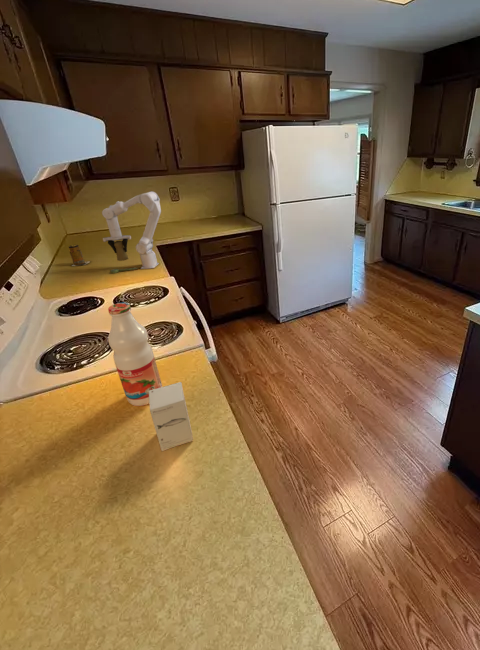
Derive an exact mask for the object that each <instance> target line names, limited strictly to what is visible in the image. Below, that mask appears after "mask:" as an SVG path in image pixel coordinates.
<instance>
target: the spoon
mask: <svg viewBox="0 0 480 650" xmlns="http://www.w3.org/2000/svg"><path fill="white" fill-rule="evenodd" d="M138 269H139V268H138V267H128V268H121V269H120V268H113V269H111V270H109V272H110V274H117V273H121V272H129V271H136V270H138Z"/></svg>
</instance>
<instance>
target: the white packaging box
mask: <svg viewBox="0 0 480 650" xmlns="http://www.w3.org/2000/svg"><path fill="white" fill-rule="evenodd" d="M148 405H149V412H150V416H151V419H152V424H153V426H154V430H155V433H156V437H157V441H158V443H159V447H160V451H161V452H164V451H166V450H169V449H172V448H174V447H175V448H176V447H179V446H180V445H183V444H187V443H190V442H194V436H193V431H192V426H191V421H190V416H189V411H188V406H187V402H186V397H185V393H184V388H183V383H182V381H179V382H176V383H175V382H174V383H172V384H169V385H163V386H162V387H160V388H157V389H153V390H149V404H148Z"/></svg>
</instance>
